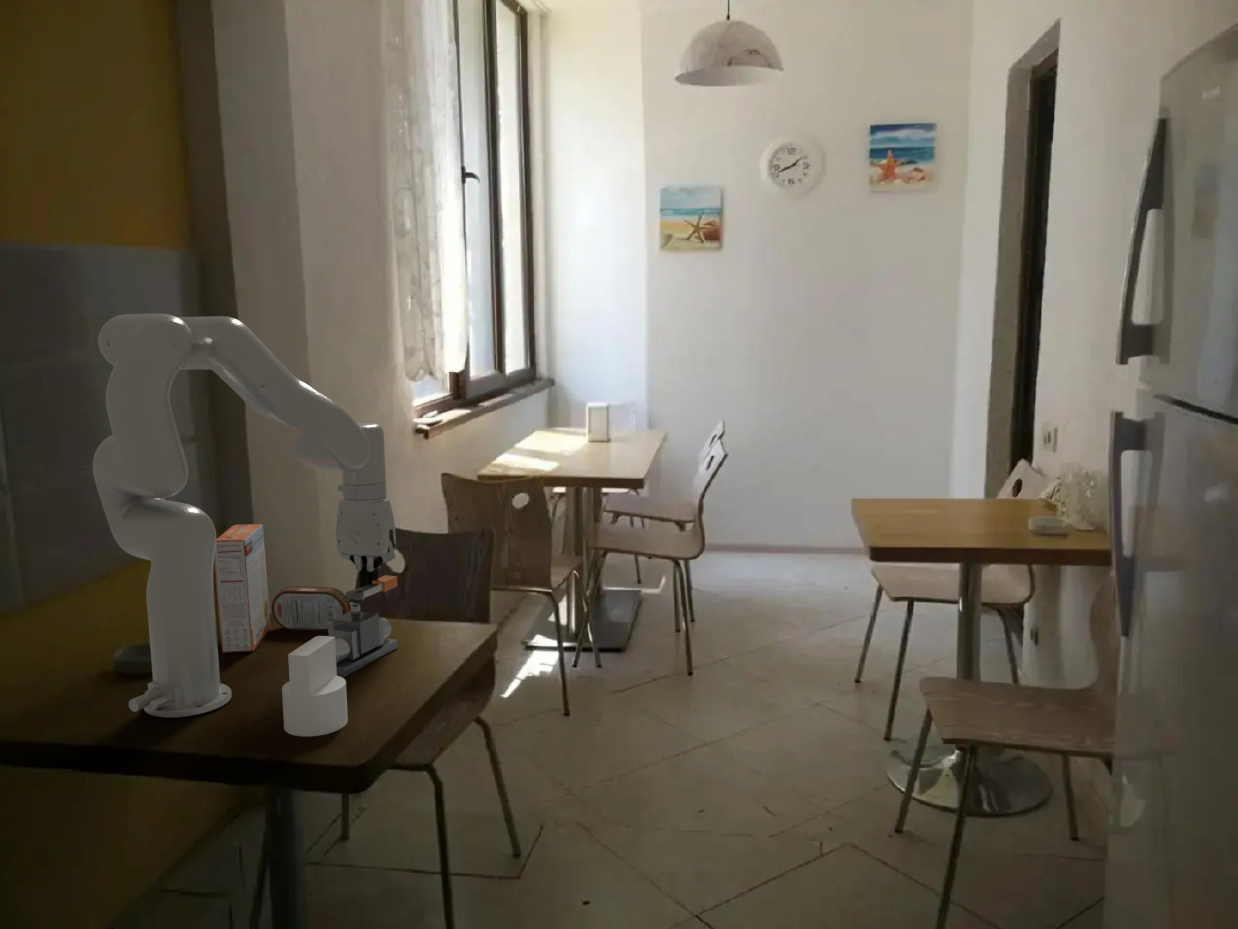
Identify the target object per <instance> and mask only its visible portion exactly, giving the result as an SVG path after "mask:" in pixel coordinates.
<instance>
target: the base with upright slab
mask: <svg viewBox="0 0 1238 929" xmlns="http://www.w3.org/2000/svg"><path fill="white" fill-rule="evenodd" d="M287 656H288V658H287V659H288V661H287V662H288V674H289V675H288V676H289V681H287V682H286V683H285V684H283V685H282V687H281V694H282V698H281V700H282V712H283V714H282V715H283V730H284V731H285V732H286V733H288V734H289V735H291V736H297V737H319V736H323V735H328V734H331V733H334V732H337V731H340V730H341V729H343V728H344V727H345V726H346V725H348V720H349V718H348V701H347V700H348V698H347V680H346V679H345V678H344V677H341V676H337V670H336V650H335V637H330V636H329V635H326V636H325V635H316V636H315V637H313V638H311V639H310V640H308V641H307V642H305V643H304V644H302V645H300V646H299V647H297V648H296V649H294V650H293V651H291V652H290V653H288V654H287Z"/></svg>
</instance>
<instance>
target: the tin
mask: <svg viewBox="0 0 1238 929" xmlns="http://www.w3.org/2000/svg"><path fill="white" fill-rule="evenodd" d="M271 602H272V603H271V613H272V617H273V619H274V620H275V622H276V623H277V624H278V625H279V626H280V627H282V628H283V629H285V630H289V631H304V632H307V631H308V632H309V631H310V632H328V630H329V629H331V628H333V619H335V618H337V617H339V616H342V615H344V614H346V613H348V612H351V602H347V601H346V593H344V592H343V591H342V590H340V589H338V588H335V587H332V586H309V585H308V586H306V585H305V586H304V585H291V586H287V587H285V588H283V589H282V590H280V592H279V593H278V594H277V595H275V596H274V598H273V599H272V601H271Z"/></svg>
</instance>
